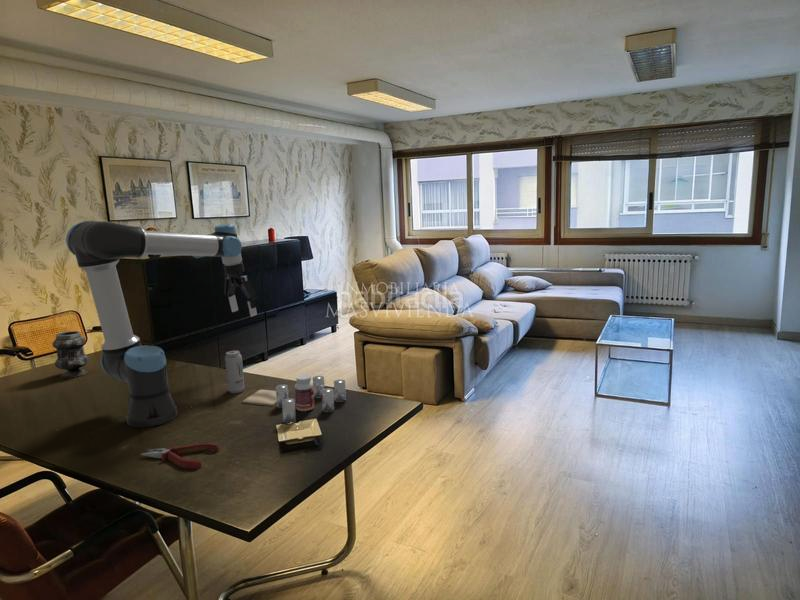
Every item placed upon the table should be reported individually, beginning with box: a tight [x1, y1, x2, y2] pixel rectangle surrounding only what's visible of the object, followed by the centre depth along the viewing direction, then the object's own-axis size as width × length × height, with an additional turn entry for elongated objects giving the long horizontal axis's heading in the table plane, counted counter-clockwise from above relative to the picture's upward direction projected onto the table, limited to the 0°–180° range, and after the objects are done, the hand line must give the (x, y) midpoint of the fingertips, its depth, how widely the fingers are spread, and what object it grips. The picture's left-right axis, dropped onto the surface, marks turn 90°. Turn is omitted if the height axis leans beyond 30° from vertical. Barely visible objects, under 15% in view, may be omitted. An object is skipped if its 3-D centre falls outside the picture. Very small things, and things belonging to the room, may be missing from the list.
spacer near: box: [281, 397, 297, 424], centre depth 165 cm, size 4×4×7 cm
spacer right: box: [321, 387, 335, 411], centre depth 172 cm, size 4×4×7 cm
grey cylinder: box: [333, 379, 347, 402], centre depth 181 cm, size 4×4×7 cm
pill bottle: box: [294, 374, 315, 412], centre depth 174 cm, size 6×6×11 cm
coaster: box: [241, 389, 290, 407], centre depth 185 cm, size 12×12×1 cm
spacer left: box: [275, 384, 289, 409], centre depth 177 cm, size 4×4×7 cm
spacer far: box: [312, 375, 326, 397], centre depth 185 cm, size 4×4×7 cm
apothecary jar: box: [51, 330, 90, 379], centre depth 216 cm, size 12×12×18 cm
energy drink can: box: [224, 350, 245, 394], centre depth 192 cm, size 6×6×15 cm
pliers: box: [140, 442, 220, 470], centre depth 144 cm, size 12×20×3 cm, turn 80°
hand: (244, 313), depth 212 cm, fingers open, 13 cm apart
